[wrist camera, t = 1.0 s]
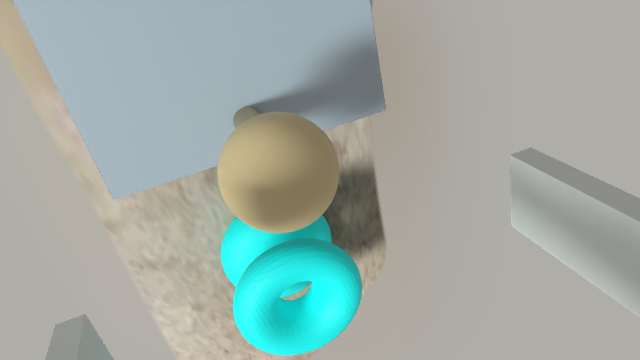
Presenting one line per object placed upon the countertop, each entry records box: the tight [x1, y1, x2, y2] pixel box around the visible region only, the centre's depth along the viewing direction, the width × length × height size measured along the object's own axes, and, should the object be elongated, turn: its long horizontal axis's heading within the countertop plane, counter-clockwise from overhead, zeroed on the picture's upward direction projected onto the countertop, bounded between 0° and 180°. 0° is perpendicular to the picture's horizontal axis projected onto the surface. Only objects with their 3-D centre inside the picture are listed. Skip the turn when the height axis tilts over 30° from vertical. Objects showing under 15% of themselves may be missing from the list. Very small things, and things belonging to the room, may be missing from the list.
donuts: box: [221, 215, 362, 355], centre depth 38 cm, size 10×10×10 cm
